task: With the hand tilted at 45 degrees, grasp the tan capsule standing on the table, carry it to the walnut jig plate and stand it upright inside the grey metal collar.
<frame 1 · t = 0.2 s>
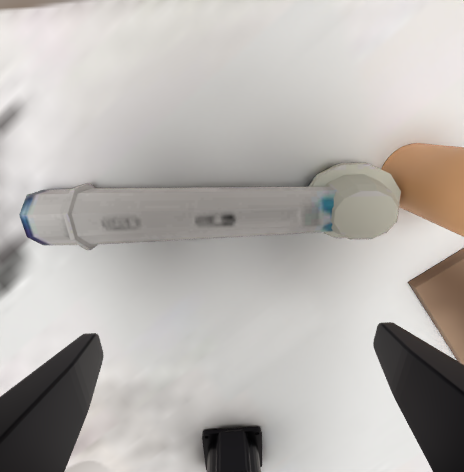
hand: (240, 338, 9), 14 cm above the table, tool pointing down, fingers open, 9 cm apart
tan capsule: (409, 175, 22), on the table
grey cylindrical tool: (215, 199, 23), on the table
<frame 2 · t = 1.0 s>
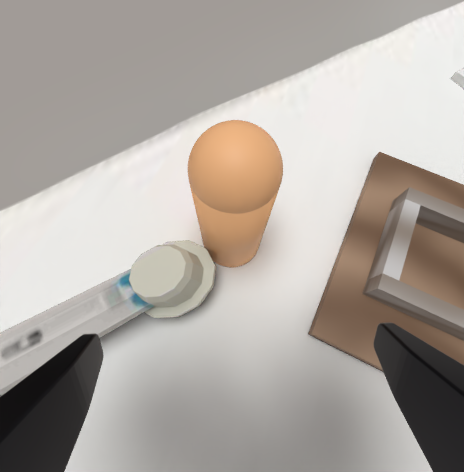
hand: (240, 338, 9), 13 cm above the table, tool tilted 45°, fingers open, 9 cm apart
jig: (424, 271, 24), on the table
tan capsule: (231, 240, 25), on the table
grey cylindrical tool: (65, 343, 22), on the table
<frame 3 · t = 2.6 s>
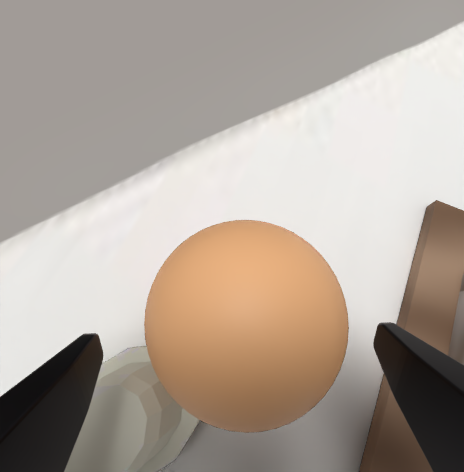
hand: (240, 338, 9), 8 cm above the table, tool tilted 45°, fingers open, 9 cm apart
tan capsule: (233, 334, 17), on the table
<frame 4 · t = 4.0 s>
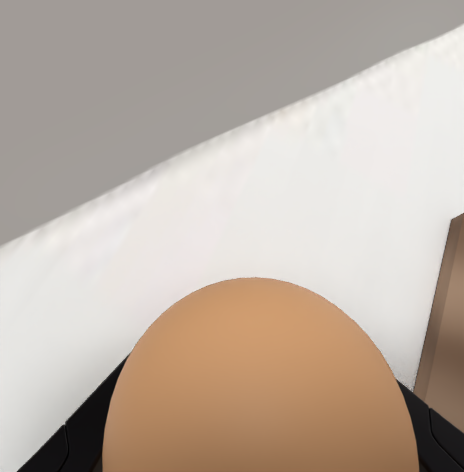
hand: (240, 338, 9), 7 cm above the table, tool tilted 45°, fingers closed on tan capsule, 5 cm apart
tan capsule: (235, 368, 15), on the table, touching gripper
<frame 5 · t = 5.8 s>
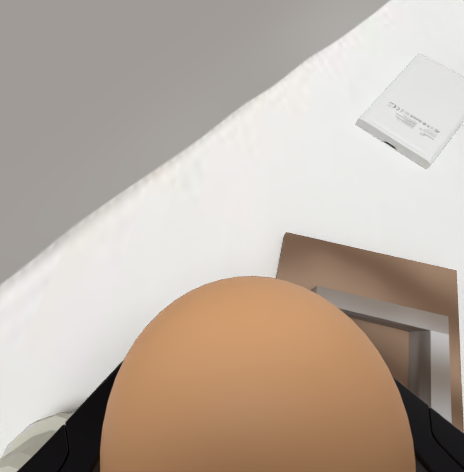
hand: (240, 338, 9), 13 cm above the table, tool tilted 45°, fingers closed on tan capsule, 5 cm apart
jig: (355, 366, 21), on the table
external hard drive: (414, 115, 31), on the table
tan capsule: (235, 368, 15), point 7 cm above the table, touching gripper
when the fingers open (8 cm above the table, at t = 8.0 s): tan capsule stays where it is, resting on jig.
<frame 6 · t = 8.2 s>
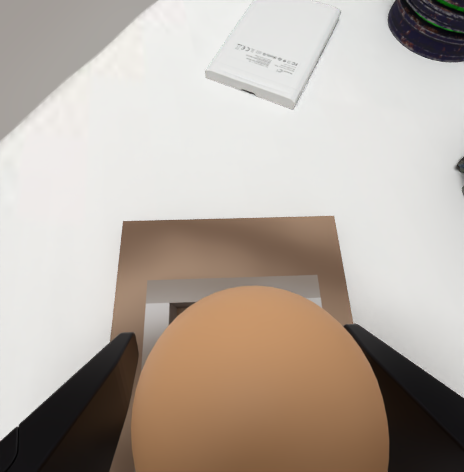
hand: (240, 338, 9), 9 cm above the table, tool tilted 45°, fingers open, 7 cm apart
jig: (234, 366, 17), on the table
external hard drive: (274, 55, 27), on the table
storage jar: (436, 28, 28), on the table
tan capsule: (234, 367, 16), point 1 cm above the table, touching jig
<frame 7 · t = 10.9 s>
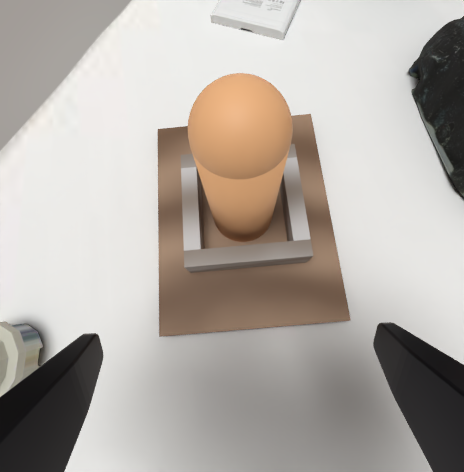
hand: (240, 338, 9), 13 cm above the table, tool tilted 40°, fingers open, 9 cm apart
jig: (243, 217, 24), on the table
tan capsule: (242, 213, 23), point 1 cm above the table, touching jig
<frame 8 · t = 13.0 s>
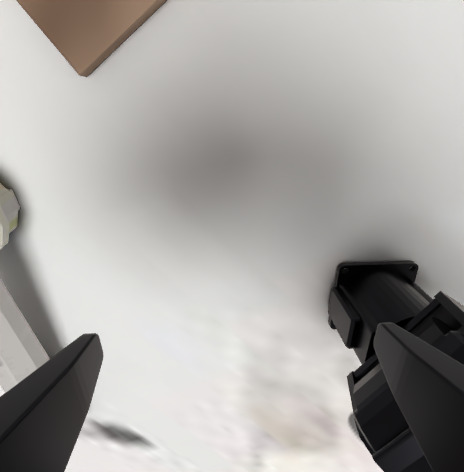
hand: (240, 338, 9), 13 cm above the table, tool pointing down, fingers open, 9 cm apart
grey cylindrical tool: (33, 308, 25), on the table
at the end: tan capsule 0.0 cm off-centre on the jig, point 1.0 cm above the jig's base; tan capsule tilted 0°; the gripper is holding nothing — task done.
